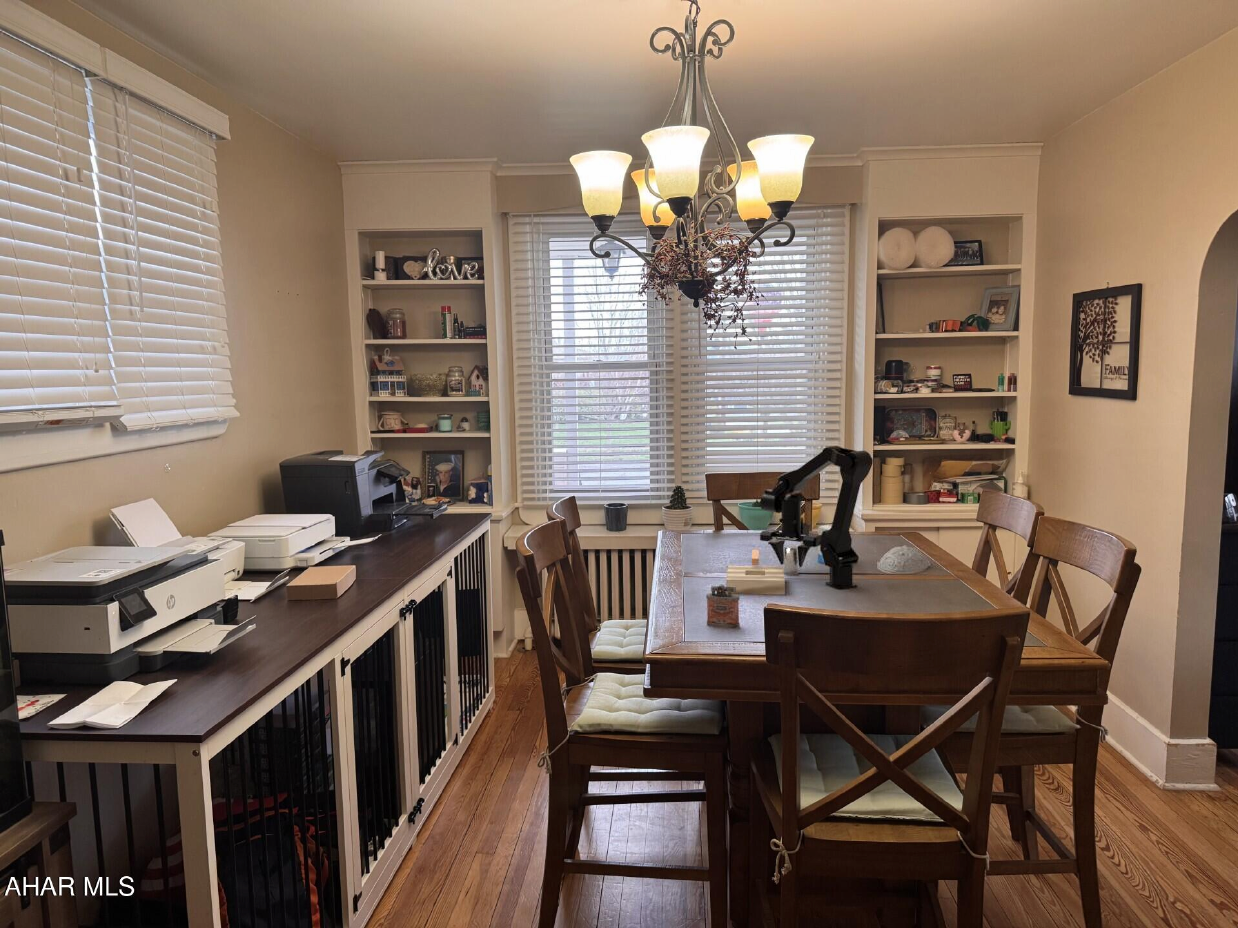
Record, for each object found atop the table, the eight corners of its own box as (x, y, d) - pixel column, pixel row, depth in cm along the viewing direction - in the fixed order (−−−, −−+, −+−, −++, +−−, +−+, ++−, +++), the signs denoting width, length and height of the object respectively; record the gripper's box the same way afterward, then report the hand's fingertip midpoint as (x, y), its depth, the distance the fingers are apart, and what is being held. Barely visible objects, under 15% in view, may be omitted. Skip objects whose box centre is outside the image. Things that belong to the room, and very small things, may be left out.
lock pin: (758, 565, 234) (758, 558, 234) (751, 565, 234) (751, 558, 234) (758, 556, 246) (758, 549, 245) (752, 556, 246) (752, 549, 246)
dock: (784, 594, 217) (784, 580, 217) (726, 593, 220) (726, 579, 220) (782, 579, 233) (782, 566, 233) (728, 578, 236) (728, 565, 235)
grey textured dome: (935, 557, 254) (933, 537, 253) (923, 580, 232) (921, 557, 232) (885, 558, 262) (883, 538, 261) (870, 580, 240) (867, 558, 239)
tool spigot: (800, 574, 239) (800, 548, 238) (789, 576, 237) (789, 549, 236) (793, 571, 242) (793, 546, 241) (782, 573, 241) (781, 547, 240)
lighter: (705, 626, 192) (704, 586, 191) (708, 622, 195) (708, 582, 194) (737, 629, 189) (737, 588, 188) (740, 624, 192) (740, 584, 191)
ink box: (827, 565, 249) (827, 528, 248) (817, 562, 254) (817, 526, 252) (849, 562, 252) (849, 525, 251) (838, 559, 257) (838, 523, 256)
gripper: (831, 513, 238) (831, 564, 240) (776, 508, 250) (776, 556, 252) (815, 519, 230) (815, 571, 231) (758, 513, 241) (759, 563, 243)
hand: (791, 565), depth 239 cm, fingers open, 6 cm apart
